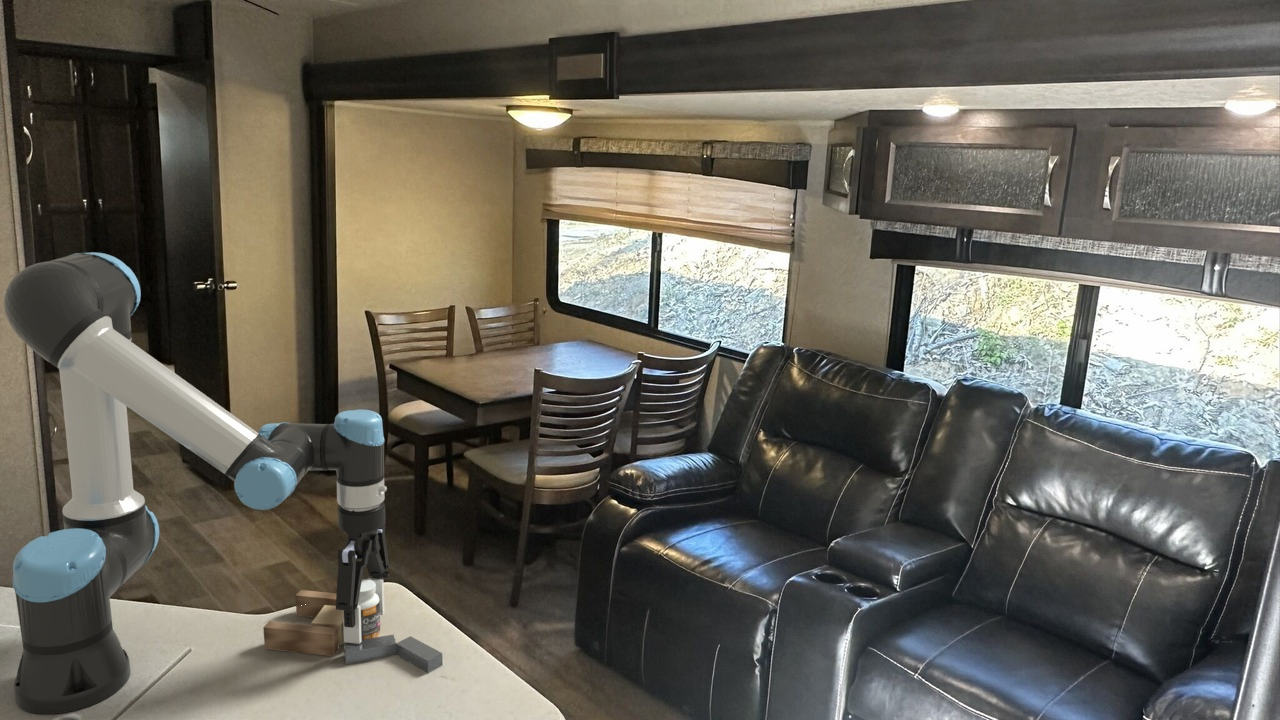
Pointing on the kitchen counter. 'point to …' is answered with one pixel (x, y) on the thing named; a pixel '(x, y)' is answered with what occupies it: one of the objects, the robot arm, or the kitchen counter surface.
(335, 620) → the block
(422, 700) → the kitchen counter surface
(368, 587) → the pill bottle
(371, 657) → the v block
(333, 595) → the channel
